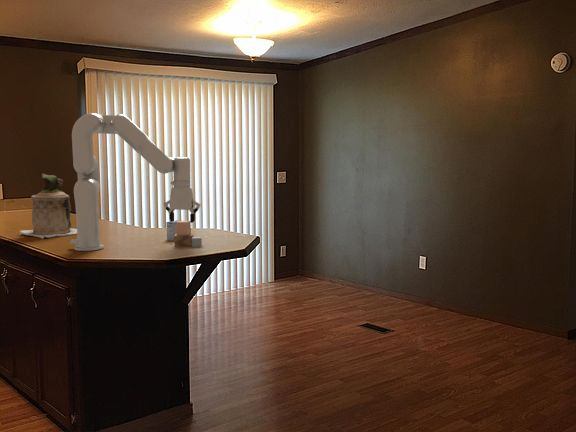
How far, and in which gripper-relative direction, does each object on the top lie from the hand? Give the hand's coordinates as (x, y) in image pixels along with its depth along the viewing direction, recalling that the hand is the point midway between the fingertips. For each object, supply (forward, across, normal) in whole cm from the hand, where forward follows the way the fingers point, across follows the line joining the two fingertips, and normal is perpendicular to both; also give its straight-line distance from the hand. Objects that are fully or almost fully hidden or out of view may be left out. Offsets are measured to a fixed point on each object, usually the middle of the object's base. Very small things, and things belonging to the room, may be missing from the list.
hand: (182, 221), depth 263 cm
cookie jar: (+13, -82, +26) cm, 87 cm away
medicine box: (+11, -10, +17) cm, 23 cm away
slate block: (+11, +8, -2) cm, 13 cm away
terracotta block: (+6, +1, 0) cm, 6 cm away
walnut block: (+11, +1, 0) cm, 11 cm away
